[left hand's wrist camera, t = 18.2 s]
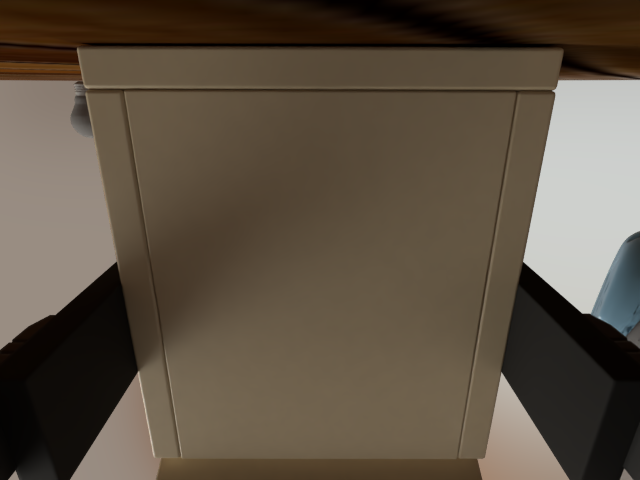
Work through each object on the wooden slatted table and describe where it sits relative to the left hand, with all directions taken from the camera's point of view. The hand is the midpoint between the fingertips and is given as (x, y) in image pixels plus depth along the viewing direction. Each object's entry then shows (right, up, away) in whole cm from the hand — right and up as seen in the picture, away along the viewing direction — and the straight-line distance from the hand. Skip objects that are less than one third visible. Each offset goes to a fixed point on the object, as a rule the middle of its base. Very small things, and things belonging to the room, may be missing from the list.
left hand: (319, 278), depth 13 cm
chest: (0, +8, +3) cm, 9 cm away
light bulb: (-44, +30, +59) cm, 80 cm away
